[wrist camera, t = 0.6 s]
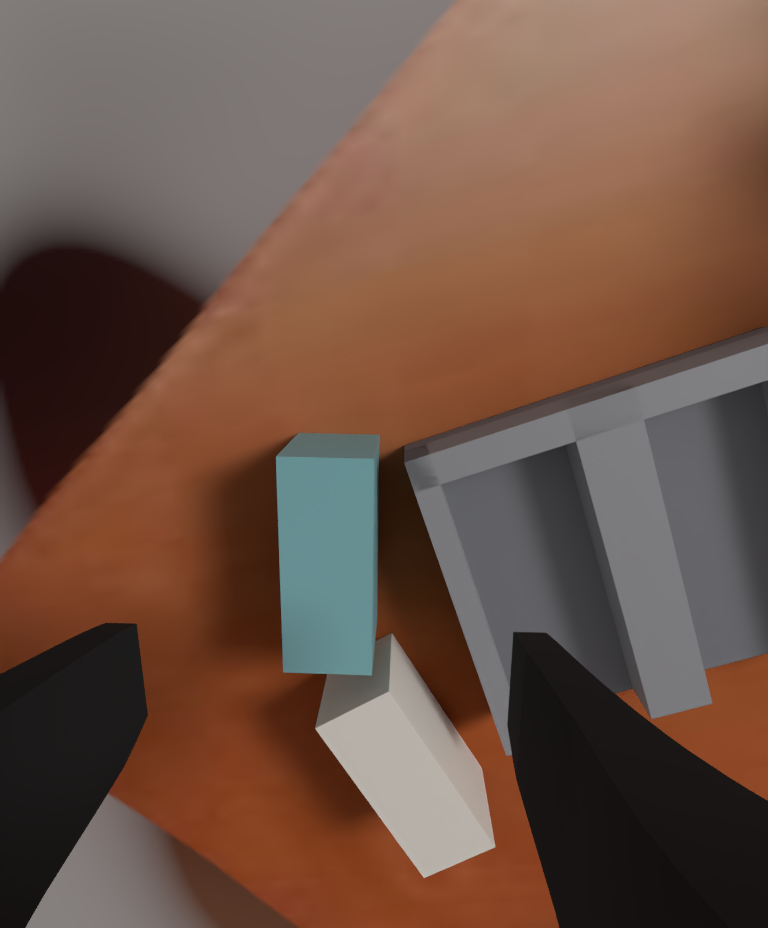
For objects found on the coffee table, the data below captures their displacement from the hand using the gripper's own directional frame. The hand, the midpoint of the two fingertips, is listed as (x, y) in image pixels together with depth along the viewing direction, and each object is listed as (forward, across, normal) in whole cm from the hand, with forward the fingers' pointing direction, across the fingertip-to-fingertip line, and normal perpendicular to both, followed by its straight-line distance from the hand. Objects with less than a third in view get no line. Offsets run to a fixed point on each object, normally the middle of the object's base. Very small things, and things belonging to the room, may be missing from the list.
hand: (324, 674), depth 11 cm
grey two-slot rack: (+9, -9, +1) cm, 13 cm away
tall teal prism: (+10, +1, +1) cm, 10 cm away
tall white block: (+10, -2, +9) cm, 13 cm away
